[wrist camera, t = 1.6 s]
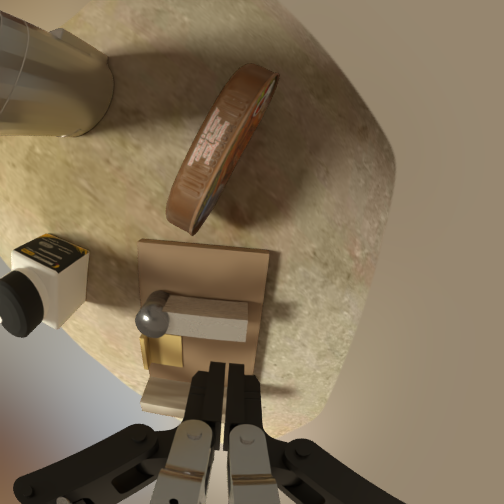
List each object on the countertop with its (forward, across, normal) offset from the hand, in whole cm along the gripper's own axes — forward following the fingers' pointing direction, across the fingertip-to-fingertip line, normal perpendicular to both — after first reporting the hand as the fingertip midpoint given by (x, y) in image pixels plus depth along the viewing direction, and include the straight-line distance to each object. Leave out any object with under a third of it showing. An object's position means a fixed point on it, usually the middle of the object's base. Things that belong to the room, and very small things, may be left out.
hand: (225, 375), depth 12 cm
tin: (+17, +2, -10) cm, 20 cm away
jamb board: (+17, +4, +9) cm, 20 cm away
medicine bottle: (+17, +21, +4) cm, 27 cm away
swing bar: (+15, +4, +6) cm, 17 cm away
